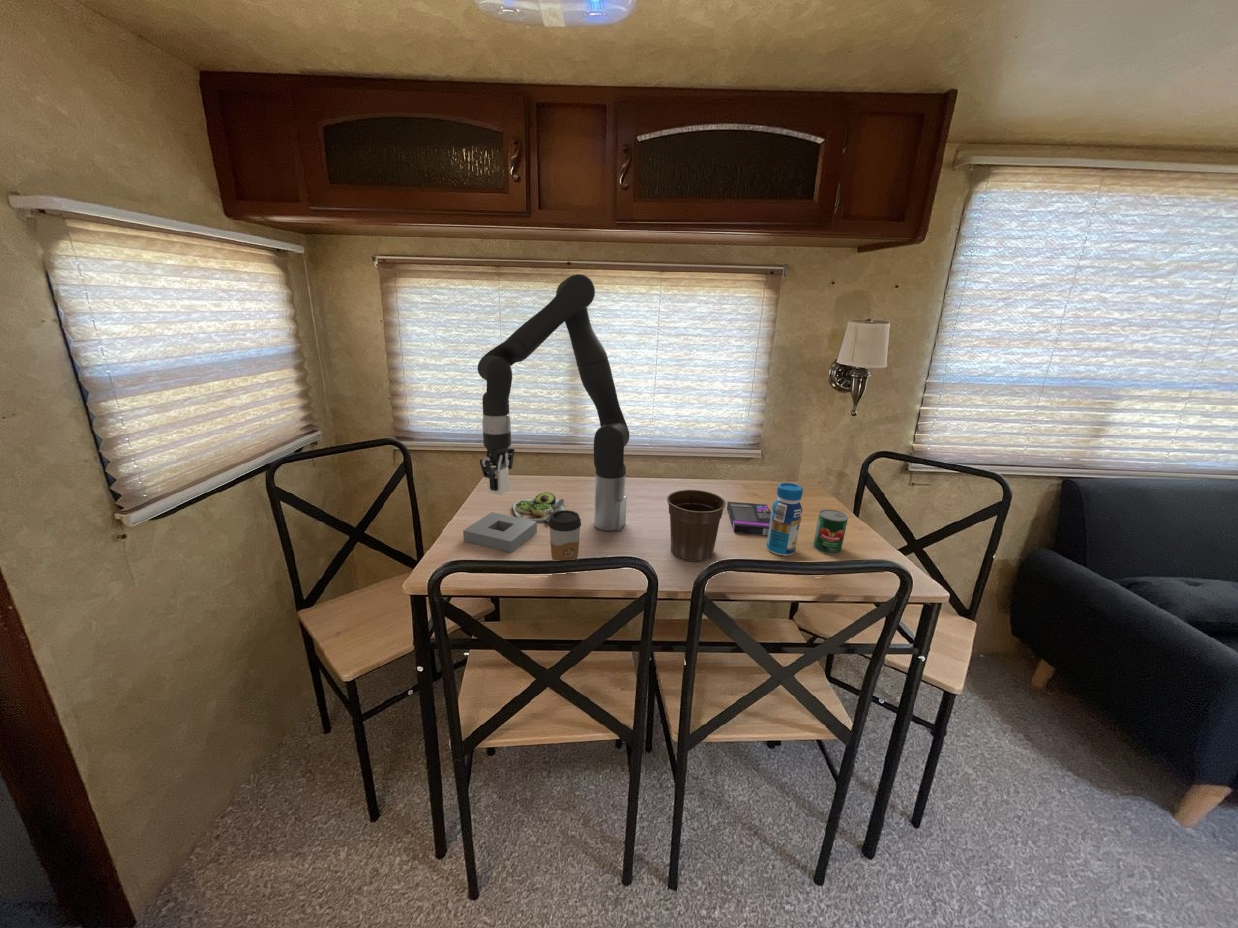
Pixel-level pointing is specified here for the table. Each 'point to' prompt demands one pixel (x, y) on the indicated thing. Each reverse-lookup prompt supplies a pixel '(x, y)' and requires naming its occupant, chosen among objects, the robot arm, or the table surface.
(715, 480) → the table surface
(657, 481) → the table surface
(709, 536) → the plant pot
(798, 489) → the beverage bottle
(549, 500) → the avocado toast plate
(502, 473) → the block
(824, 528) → the canned tomato
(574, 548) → the coffee cup
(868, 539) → the table surface
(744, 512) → the box
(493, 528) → the outlet box
